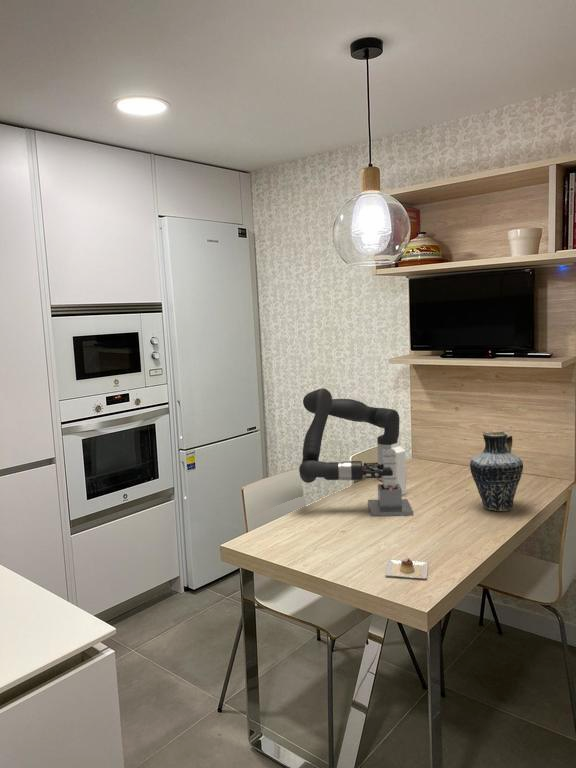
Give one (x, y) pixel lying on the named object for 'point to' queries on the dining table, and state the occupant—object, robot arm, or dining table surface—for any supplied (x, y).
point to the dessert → (407, 567)
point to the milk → (400, 466)
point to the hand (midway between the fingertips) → (391, 469)
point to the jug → (497, 471)
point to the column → (389, 468)
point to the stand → (389, 503)
